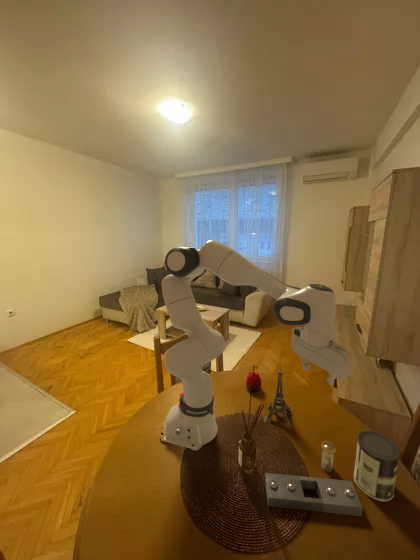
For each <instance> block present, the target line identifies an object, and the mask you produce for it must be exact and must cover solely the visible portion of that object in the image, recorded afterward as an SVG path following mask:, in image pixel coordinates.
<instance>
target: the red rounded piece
mask: <svg viewBox="0 0 420 560" xmlns="http://www.w3.org/2000/svg"><path fill="white" fill-rule="evenodd" d="M255 368H256V369H259V367H258V366H255V364H254V363H252V371H249V372H248V374H247V376H246V379H245V380H246V382H245V386H246V388H247V389H248V391H249V392H259V391H260V390H261V388H262V378H261V376H260V373H259V372H255Z"/></svg>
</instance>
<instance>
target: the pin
mask: <svg viewBox="0 0 420 560" xmlns="http://www.w3.org/2000/svg"><path fill="white" fill-rule="evenodd" d="M321 449H322V450H321V451H322V452H321V462H320V463H321V464H320V465H321V468H322V469H323V470H324V471H325V472H329V473H330V472H332V470H333V465H334V462H333V461H334V455H335V453H336V446H335V445H334V443H332V442H331V441H328V440H323V441H322V442H321Z"/></svg>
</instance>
